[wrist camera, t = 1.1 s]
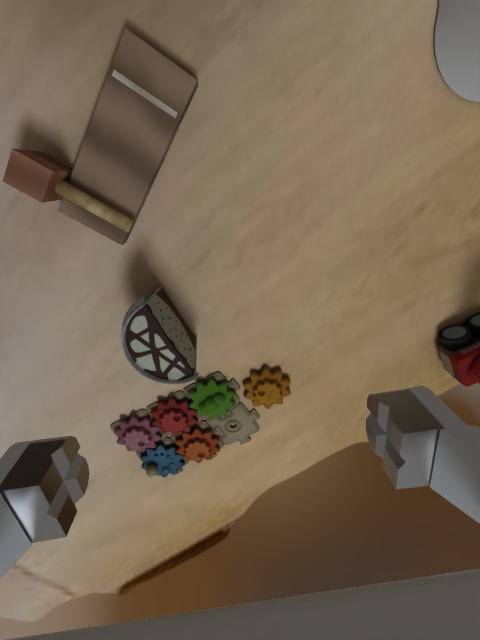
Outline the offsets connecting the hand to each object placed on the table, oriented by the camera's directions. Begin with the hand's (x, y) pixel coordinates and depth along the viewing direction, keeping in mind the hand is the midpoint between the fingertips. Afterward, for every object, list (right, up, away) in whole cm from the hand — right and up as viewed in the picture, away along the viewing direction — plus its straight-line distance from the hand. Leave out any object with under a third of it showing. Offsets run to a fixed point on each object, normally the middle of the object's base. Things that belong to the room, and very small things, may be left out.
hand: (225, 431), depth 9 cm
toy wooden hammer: (-18, +19, +30) cm, 40 cm away
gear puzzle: (-5, -13, +47) cm, 49 cm away
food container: (-11, +3, +38) cm, 40 cm away
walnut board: (-13, +23, +29) cm, 39 cm away
